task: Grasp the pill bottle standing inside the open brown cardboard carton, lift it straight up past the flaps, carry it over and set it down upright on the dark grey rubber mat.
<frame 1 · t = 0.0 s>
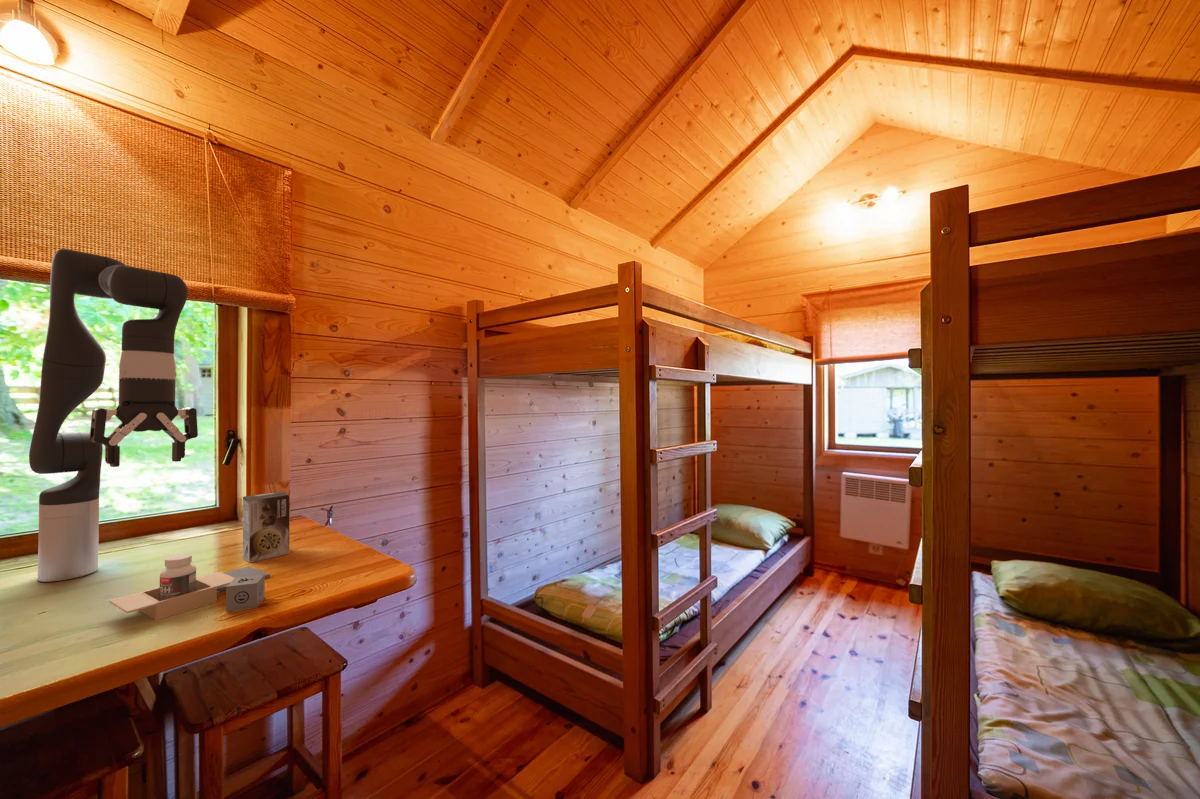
hand: (146, 463, 86), 29 cm above the table, fingers open, 8 cm apart
coffee box: (265, 556, 122), on the table
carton: (177, 605, 92), on the table
pill bottle: (177, 606, 92), resting in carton
mat: (234, 579, 105), on the table
dice cube: (245, 605, 93), on the table
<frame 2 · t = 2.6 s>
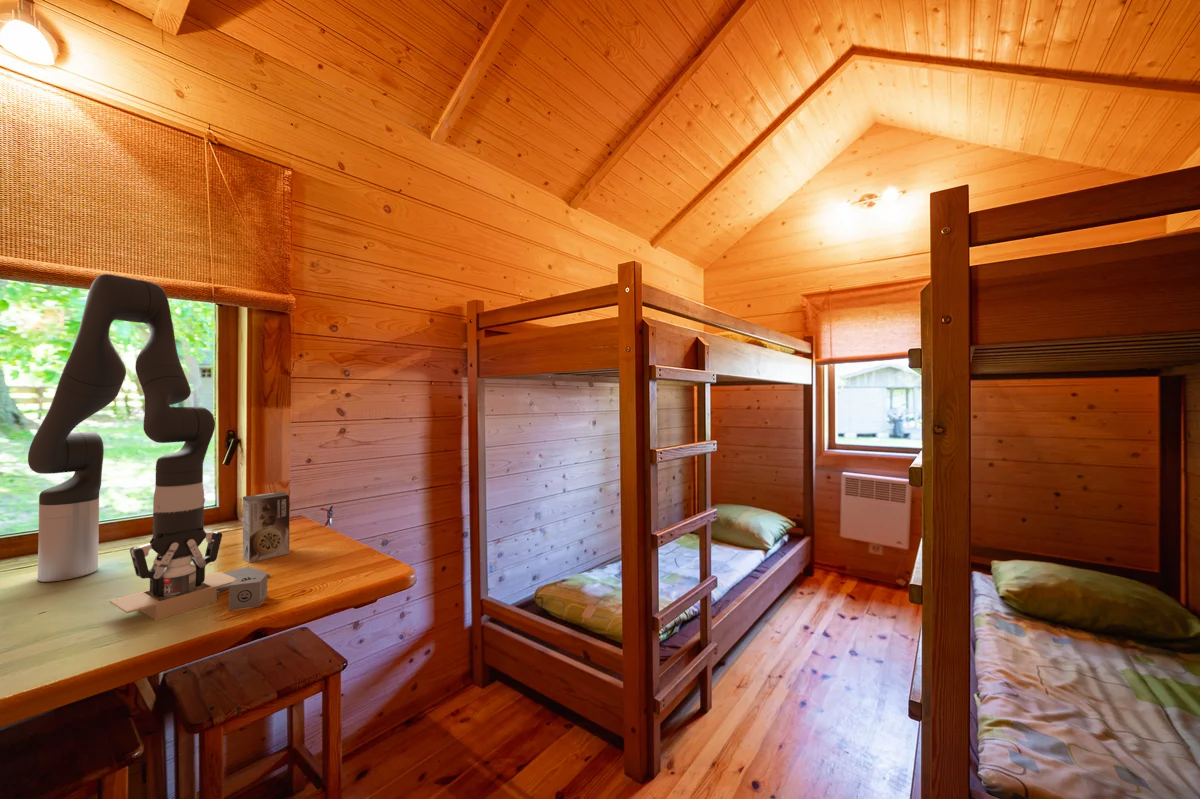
hand: (177, 590, 92), 3 cm above the table, fingers closed on pill bottle, 5 cm apart
pill bottle: (177, 606, 92), resting in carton, touching gripper
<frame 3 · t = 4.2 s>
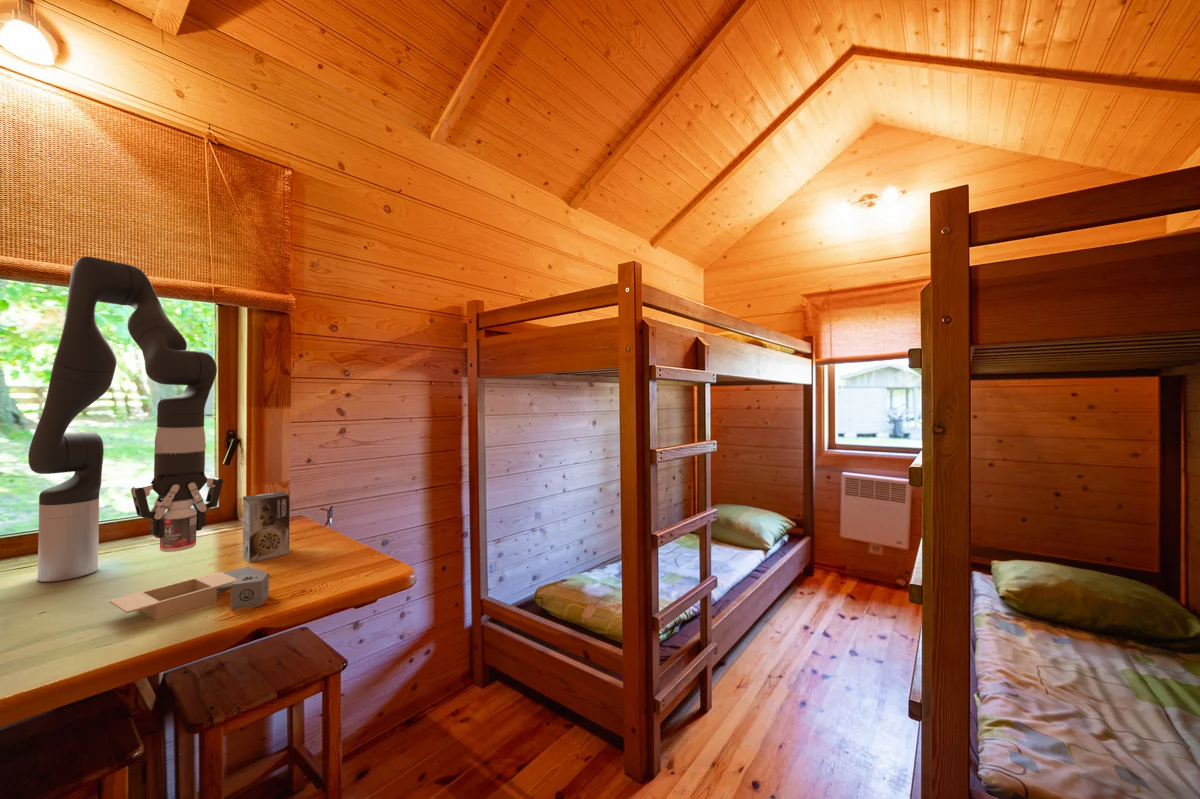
hand: (178, 533, 92), 14 cm above the table, fingers closed on pill bottle, 5 cm apart
pill bottle: (178, 549, 92), point 11 cm above the table, touching gripper
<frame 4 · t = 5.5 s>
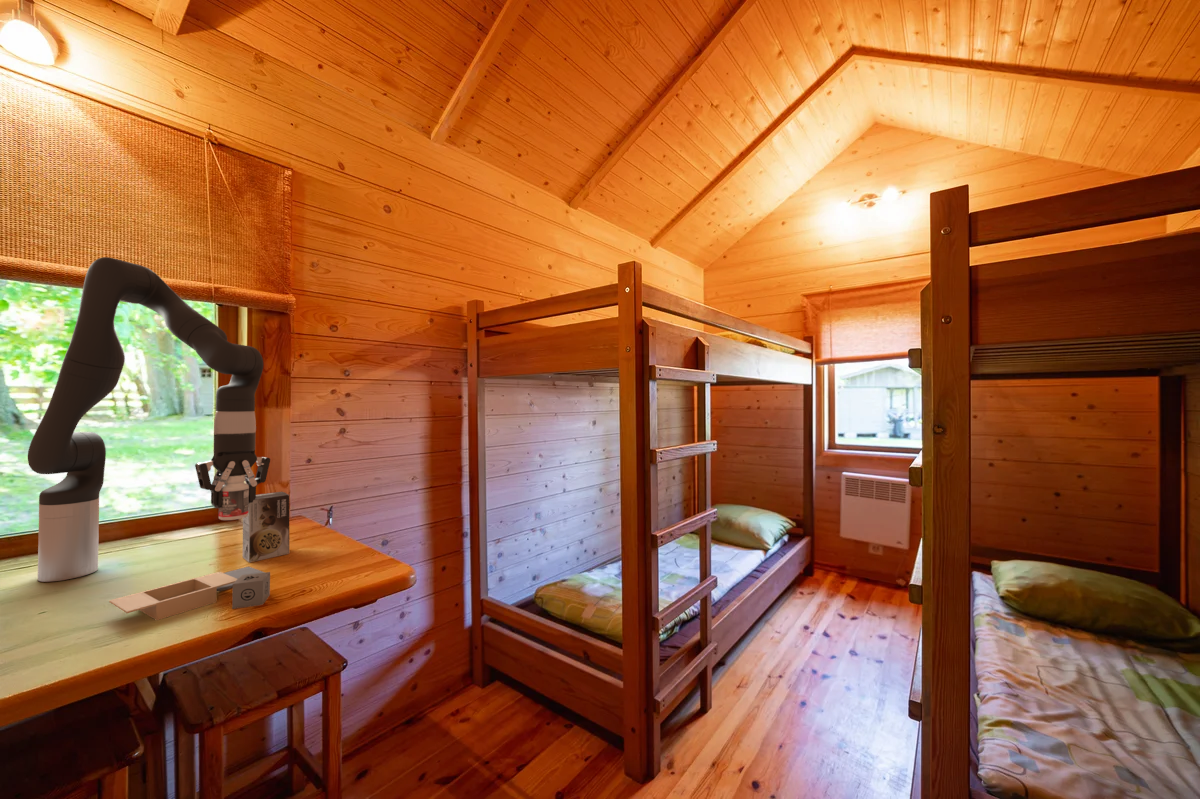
hand: (233, 504, 105), 17 cm above the table, fingers closed on pill bottle, 5 cm apart
pill bottle: (233, 518, 105), point 14 cm above the table, touching gripper
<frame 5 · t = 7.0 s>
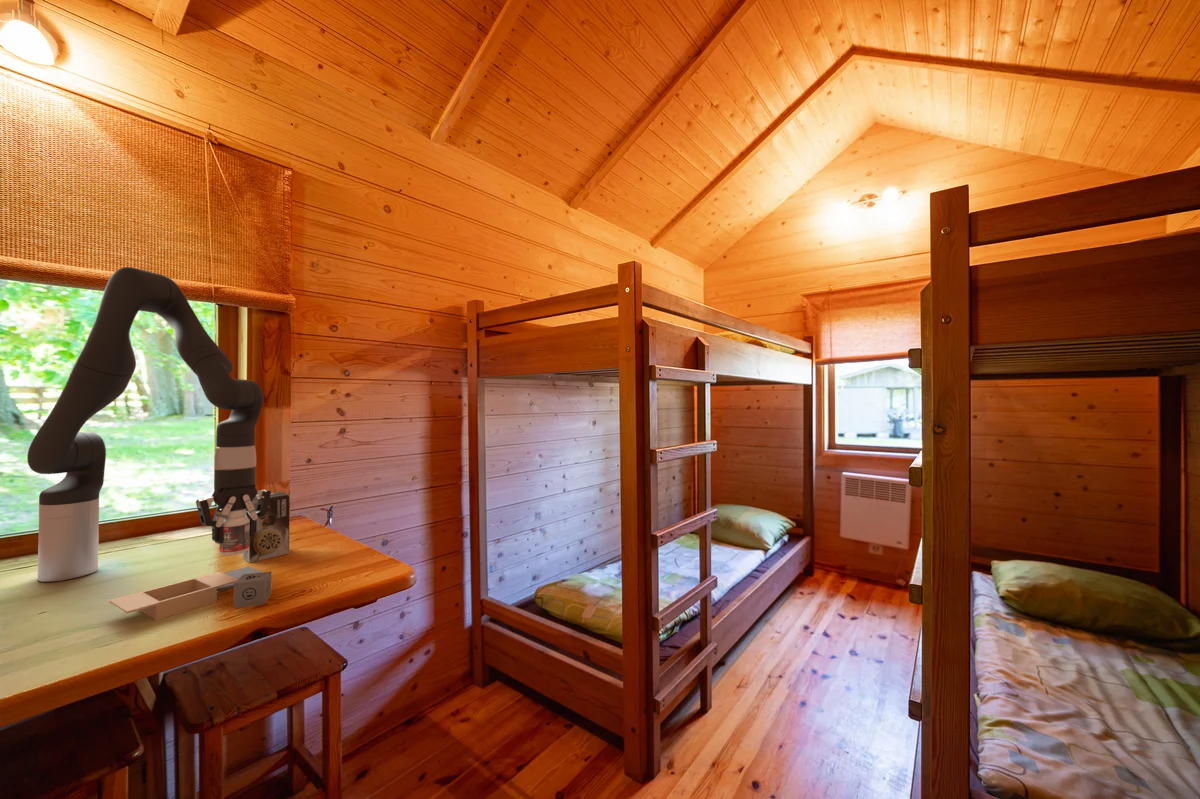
hand: (234, 539, 105), 9 cm above the table, fingers closed on pill bottle, 5 cm apart
pill bottle: (234, 553, 105), point 6 cm above the table, touching gripper
when the fingers open (5 cm above the table, at t = 8.3 s): pill bottle drops 1 cm, resting on mat.
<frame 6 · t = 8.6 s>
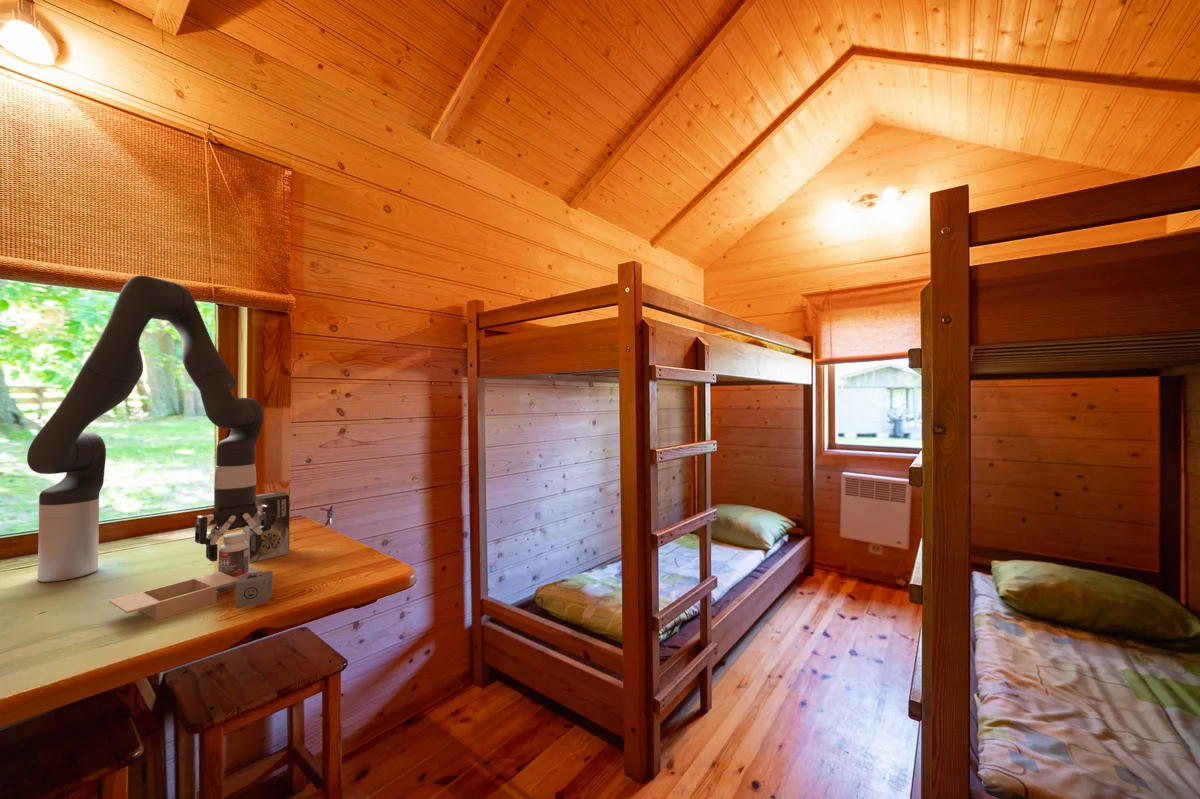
hand: (234, 555, 105), 6 cm above the table, fingers open, 7 cm apart
pill bottle: (233, 577, 105), resting on mat
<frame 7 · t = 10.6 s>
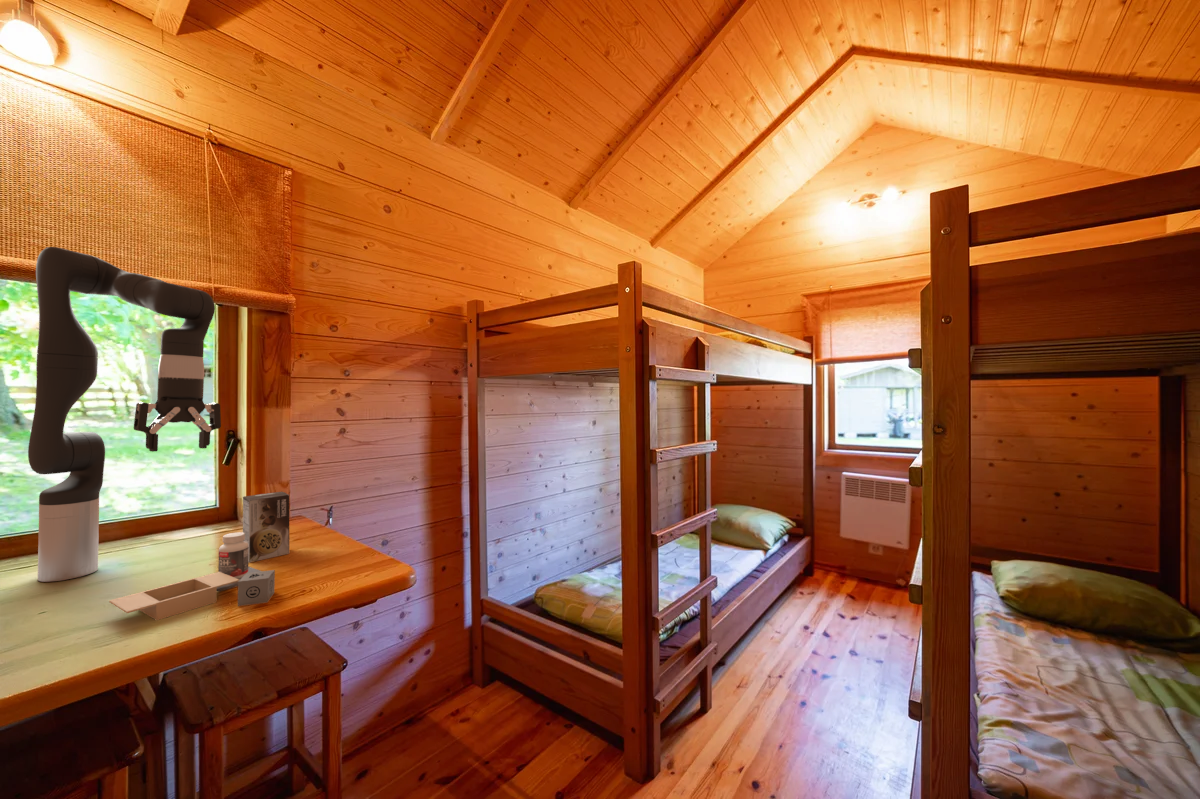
hand: (178, 449, 102), 30 cm above the table, fingers open, 8 cm apart
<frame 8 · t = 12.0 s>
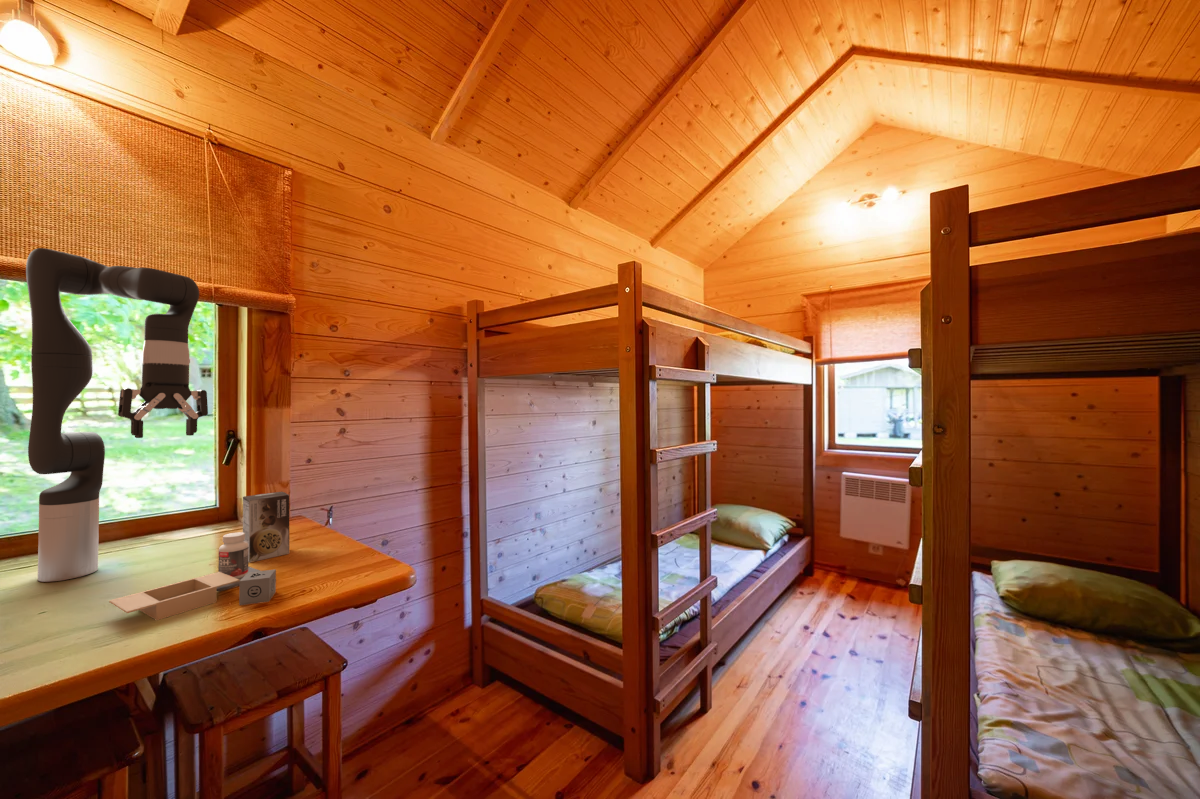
hand: (165, 436, 101), 33 cm above the table, fingers open, 8 cm apart
at the end: pill bottle 0.1 cm from the mat (horizontally); pill bottle tilted 0°; the gripper is holding nothing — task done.
